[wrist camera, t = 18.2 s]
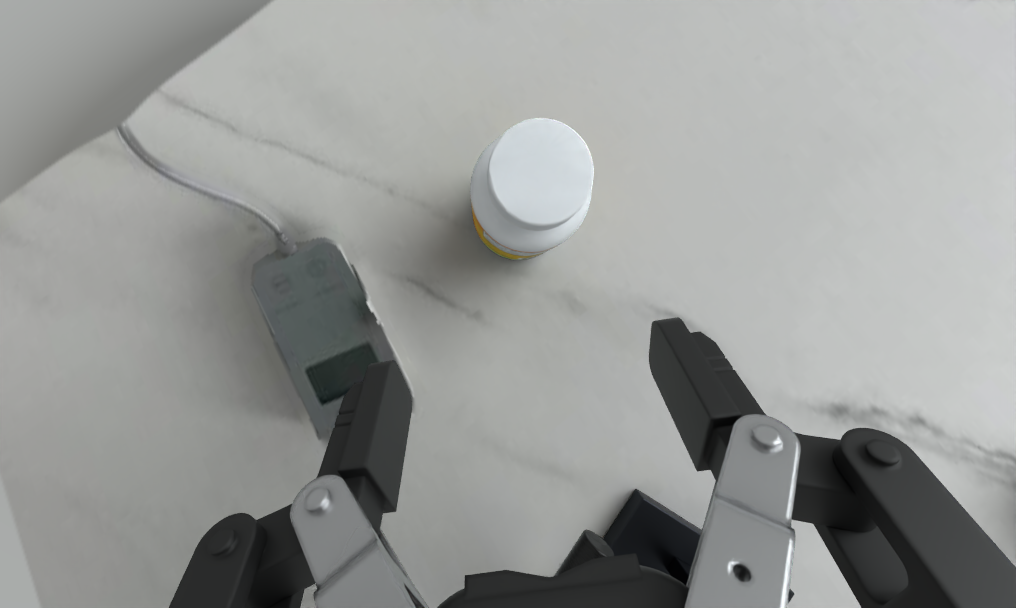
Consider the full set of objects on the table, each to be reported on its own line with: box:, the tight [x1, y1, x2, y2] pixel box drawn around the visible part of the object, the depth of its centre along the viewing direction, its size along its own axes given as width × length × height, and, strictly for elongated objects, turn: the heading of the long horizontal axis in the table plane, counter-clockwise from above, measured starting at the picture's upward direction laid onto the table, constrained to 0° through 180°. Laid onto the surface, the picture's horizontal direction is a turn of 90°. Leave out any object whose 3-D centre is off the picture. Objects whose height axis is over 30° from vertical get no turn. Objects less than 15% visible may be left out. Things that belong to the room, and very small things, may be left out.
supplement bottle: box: [470, 118, 594, 260], centre depth 20 cm, size 5×5×10 cm
